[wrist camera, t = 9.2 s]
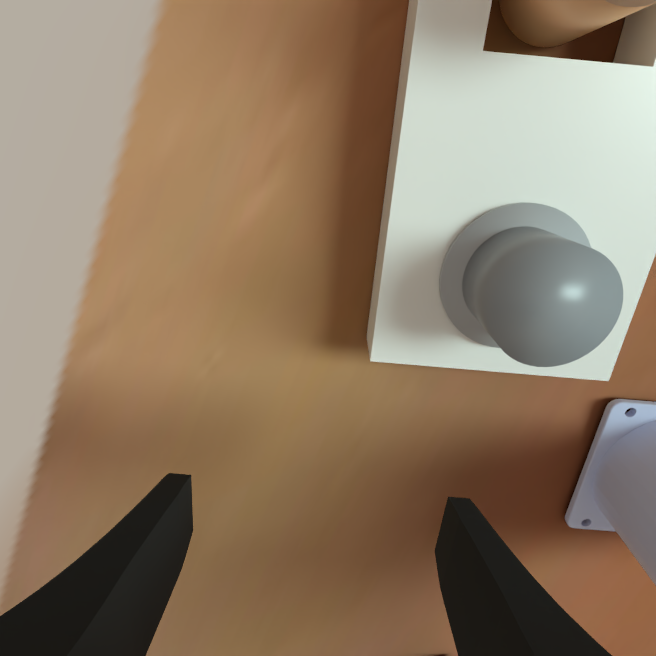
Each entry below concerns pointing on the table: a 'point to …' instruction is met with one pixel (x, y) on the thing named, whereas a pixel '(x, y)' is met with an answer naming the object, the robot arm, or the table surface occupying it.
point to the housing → (514, 201)
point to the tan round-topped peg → (563, 18)
